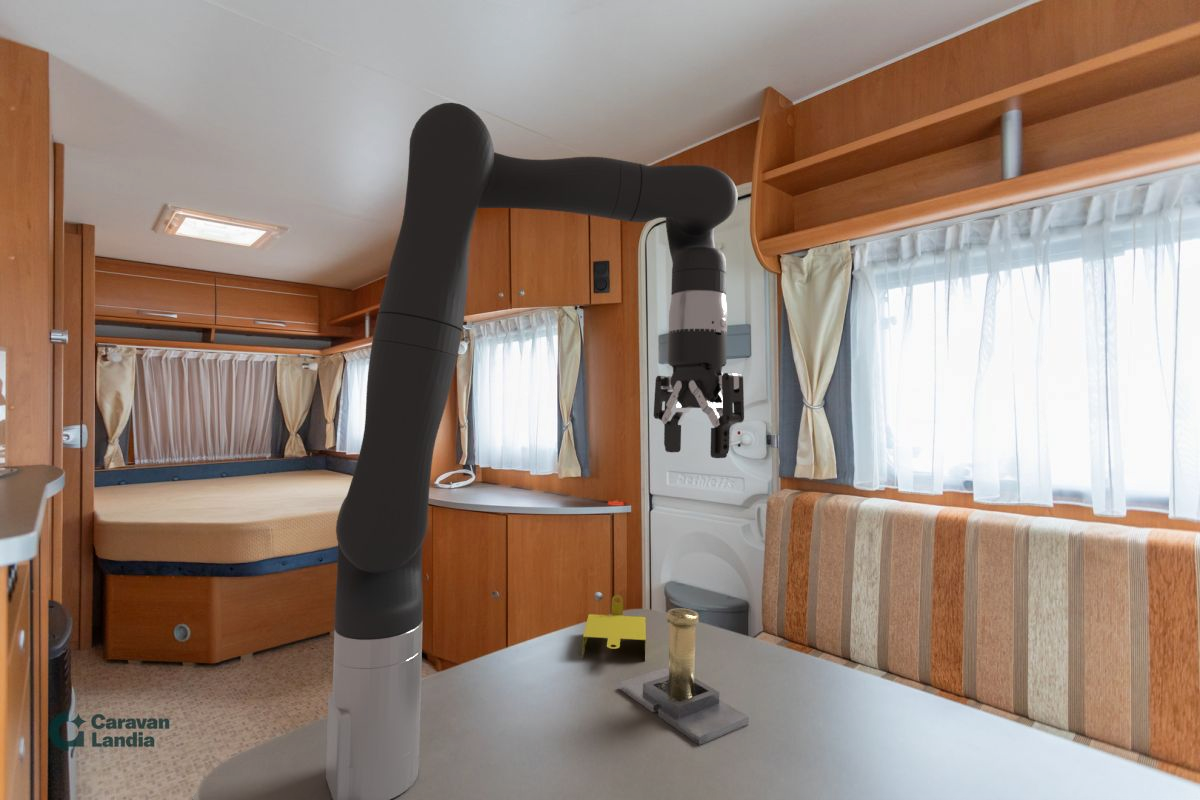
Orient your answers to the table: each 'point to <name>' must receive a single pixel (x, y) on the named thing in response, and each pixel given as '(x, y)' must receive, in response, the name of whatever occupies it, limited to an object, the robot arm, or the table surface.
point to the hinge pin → (681, 652)
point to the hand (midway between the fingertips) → (694, 454)
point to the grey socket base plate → (685, 707)
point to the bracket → (615, 626)
